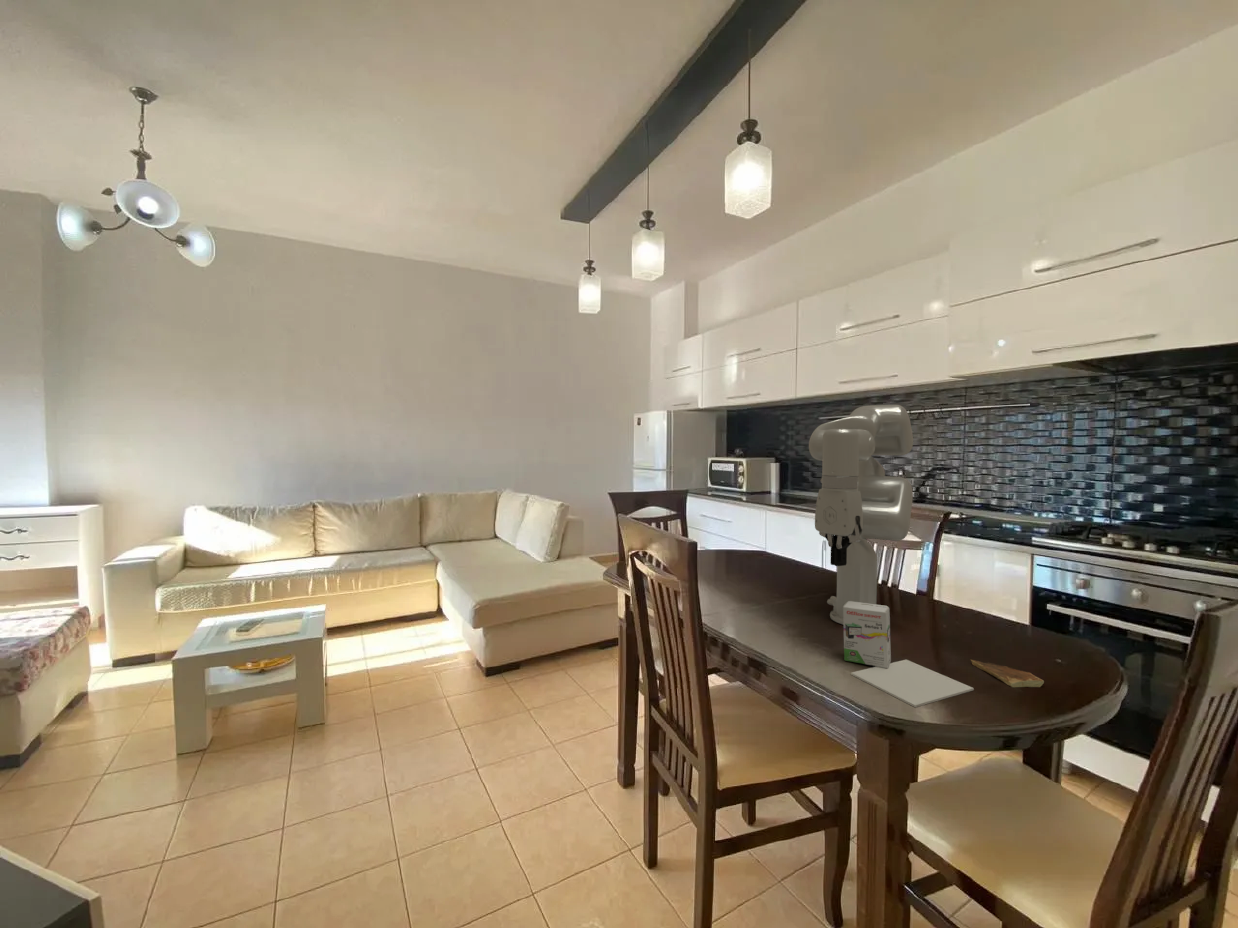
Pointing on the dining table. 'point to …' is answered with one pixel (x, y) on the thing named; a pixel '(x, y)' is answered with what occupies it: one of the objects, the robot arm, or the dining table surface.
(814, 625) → the dining table surface
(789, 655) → the dining table surface
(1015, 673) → the shard
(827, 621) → the dining table surface
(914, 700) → the grey mat
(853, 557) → the robot arm
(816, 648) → the dining table surface
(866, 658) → the ink box
